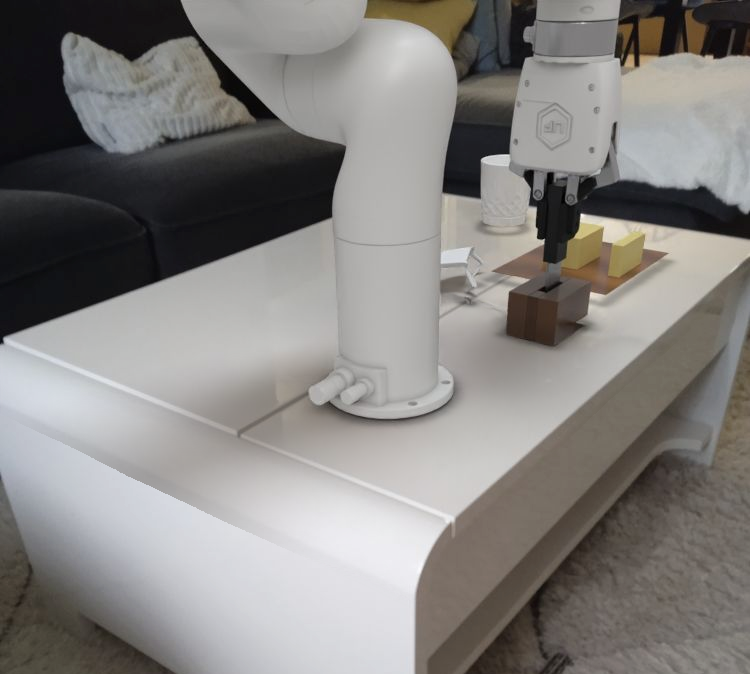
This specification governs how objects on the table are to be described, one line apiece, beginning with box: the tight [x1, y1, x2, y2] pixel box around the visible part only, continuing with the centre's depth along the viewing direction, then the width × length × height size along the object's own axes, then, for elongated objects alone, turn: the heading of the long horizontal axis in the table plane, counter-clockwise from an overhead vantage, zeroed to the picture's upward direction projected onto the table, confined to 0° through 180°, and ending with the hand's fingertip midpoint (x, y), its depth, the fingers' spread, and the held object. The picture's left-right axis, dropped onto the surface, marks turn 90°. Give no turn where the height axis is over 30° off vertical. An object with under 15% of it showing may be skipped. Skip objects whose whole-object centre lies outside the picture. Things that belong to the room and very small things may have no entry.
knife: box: [543, 179, 568, 293], centre depth 89 cm, size 3×2×15 cm, turn 142°
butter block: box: [543, 221, 605, 270], centre depth 109 cm, size 7×5×4 cm
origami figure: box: [440, 246, 486, 305], centre depth 102 cm, size 12×8×5 cm
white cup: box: [480, 154, 532, 228], centre depth 125 cm, size 8×8×10 cm
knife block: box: [505, 272, 592, 347], centre depth 92 cm, size 8×6×5 cm
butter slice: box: [608, 230, 647, 278], centre depth 105 cm, size 7×2×4 cm, turn 142°
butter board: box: [491, 241, 670, 296], centre depth 110 cm, size 20×16×1 cm
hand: (556, 237), depth 88 cm, fingers closed on knife, 1 cm apart
